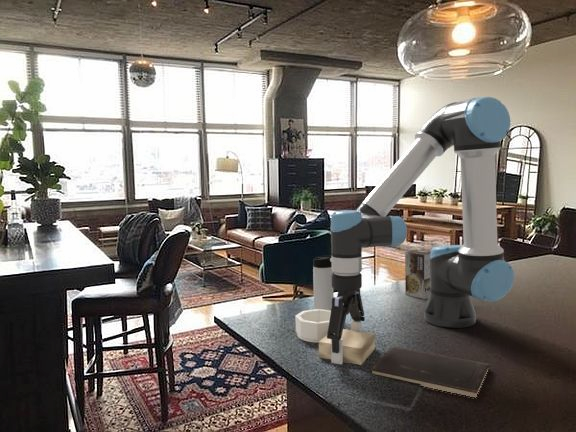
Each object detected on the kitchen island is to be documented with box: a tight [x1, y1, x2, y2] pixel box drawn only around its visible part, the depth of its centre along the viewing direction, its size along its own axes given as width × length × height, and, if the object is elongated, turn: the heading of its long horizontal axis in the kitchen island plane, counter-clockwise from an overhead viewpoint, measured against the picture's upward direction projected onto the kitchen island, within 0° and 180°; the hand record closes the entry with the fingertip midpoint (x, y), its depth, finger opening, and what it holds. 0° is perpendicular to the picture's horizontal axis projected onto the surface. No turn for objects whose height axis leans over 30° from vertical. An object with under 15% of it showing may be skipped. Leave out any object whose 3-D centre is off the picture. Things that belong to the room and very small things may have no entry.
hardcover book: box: [370, 345, 491, 399], centre depth 110 cm, size 16×23×2 cm
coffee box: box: [404, 249, 431, 300], centre depth 173 cm, size 9×6×16 cm
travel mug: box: [312, 255, 335, 310], centre depth 150 cm, size 6×7×20 cm
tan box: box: [318, 328, 376, 366], centre depth 121 cm, size 11×11×4 cm
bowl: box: [294, 308, 331, 344], centre depth 135 cm, size 12×12×6 cm
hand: (347, 354), depth 122 cm, fingers open, 13 cm apart
